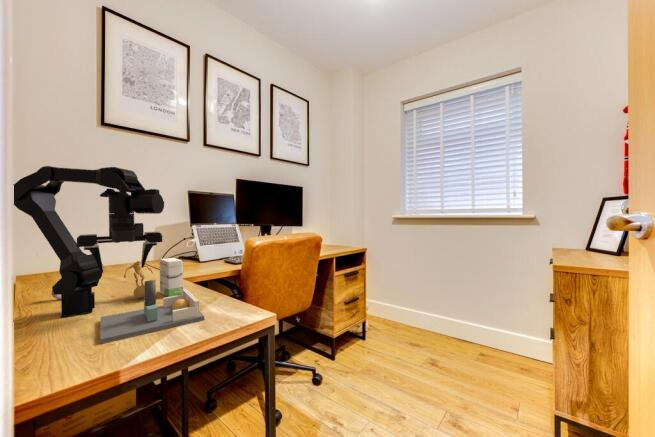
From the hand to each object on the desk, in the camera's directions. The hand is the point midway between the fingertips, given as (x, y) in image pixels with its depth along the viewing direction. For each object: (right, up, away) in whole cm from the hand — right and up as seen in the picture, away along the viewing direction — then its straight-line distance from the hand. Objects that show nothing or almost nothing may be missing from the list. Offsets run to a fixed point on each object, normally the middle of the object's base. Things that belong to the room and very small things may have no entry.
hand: (122, 269), depth 78 cm
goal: (+17, -11, -1) cm, 20 cm away
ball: (+17, -10, -1) cm, 20 cm away
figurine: (-4, -12, +14) cm, 19 cm away
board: (+12, -12, -5) cm, 18 cm away
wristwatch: (-27, -12, +12) cm, 32 cm away
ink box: (+3, -12, +18) cm, 22 cm away
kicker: (+11, -11, -6) cm, 17 cm away
